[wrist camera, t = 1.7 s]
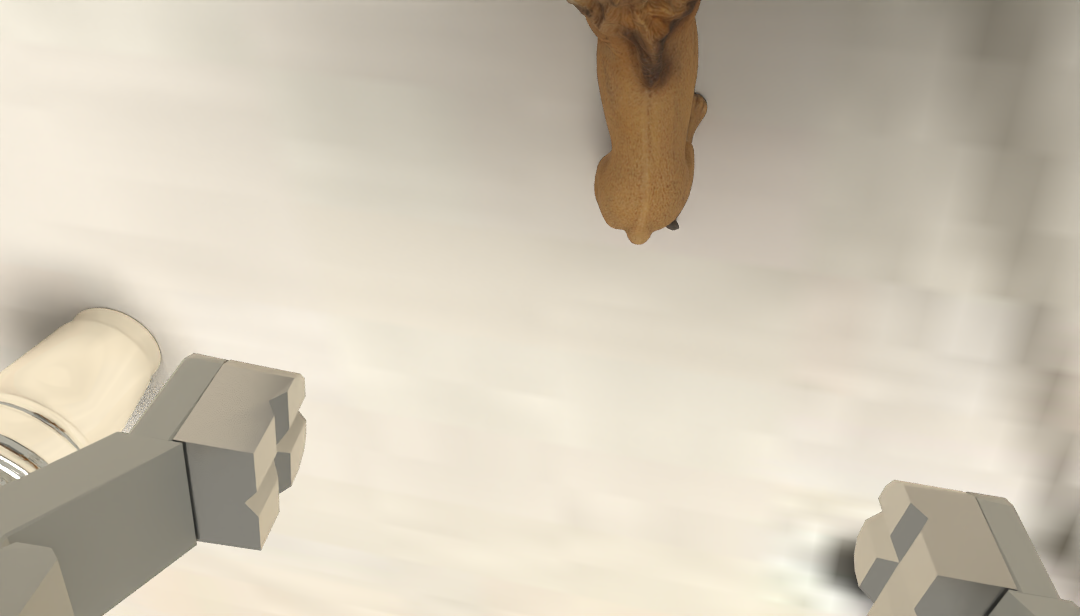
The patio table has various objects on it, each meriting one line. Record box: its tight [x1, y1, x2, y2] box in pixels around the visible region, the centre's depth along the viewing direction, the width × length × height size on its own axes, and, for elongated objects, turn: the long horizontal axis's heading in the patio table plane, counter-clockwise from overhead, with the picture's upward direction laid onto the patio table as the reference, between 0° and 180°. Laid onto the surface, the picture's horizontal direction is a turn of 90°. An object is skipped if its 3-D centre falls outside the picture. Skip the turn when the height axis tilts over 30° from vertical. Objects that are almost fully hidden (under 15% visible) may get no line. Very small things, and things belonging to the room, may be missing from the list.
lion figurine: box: [567, 0, 707, 245], centre depth 25 cm, size 15×5×9 cm, turn 15°
